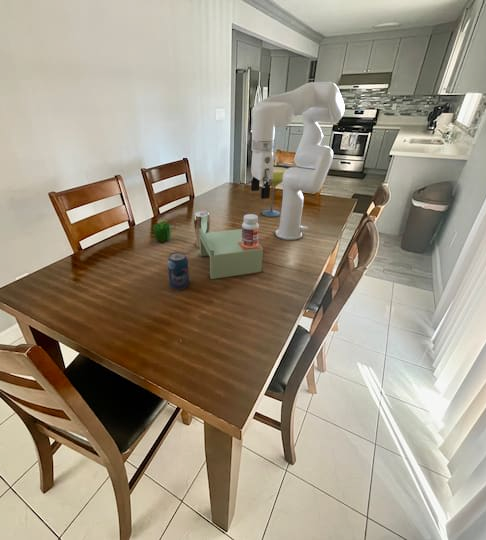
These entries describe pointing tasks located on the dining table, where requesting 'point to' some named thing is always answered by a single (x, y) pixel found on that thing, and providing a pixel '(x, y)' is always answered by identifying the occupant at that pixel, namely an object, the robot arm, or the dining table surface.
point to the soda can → (178, 270)
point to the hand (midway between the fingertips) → (259, 194)
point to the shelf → (229, 254)
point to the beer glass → (201, 224)
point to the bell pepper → (162, 231)
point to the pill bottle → (250, 231)
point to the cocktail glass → (276, 180)
